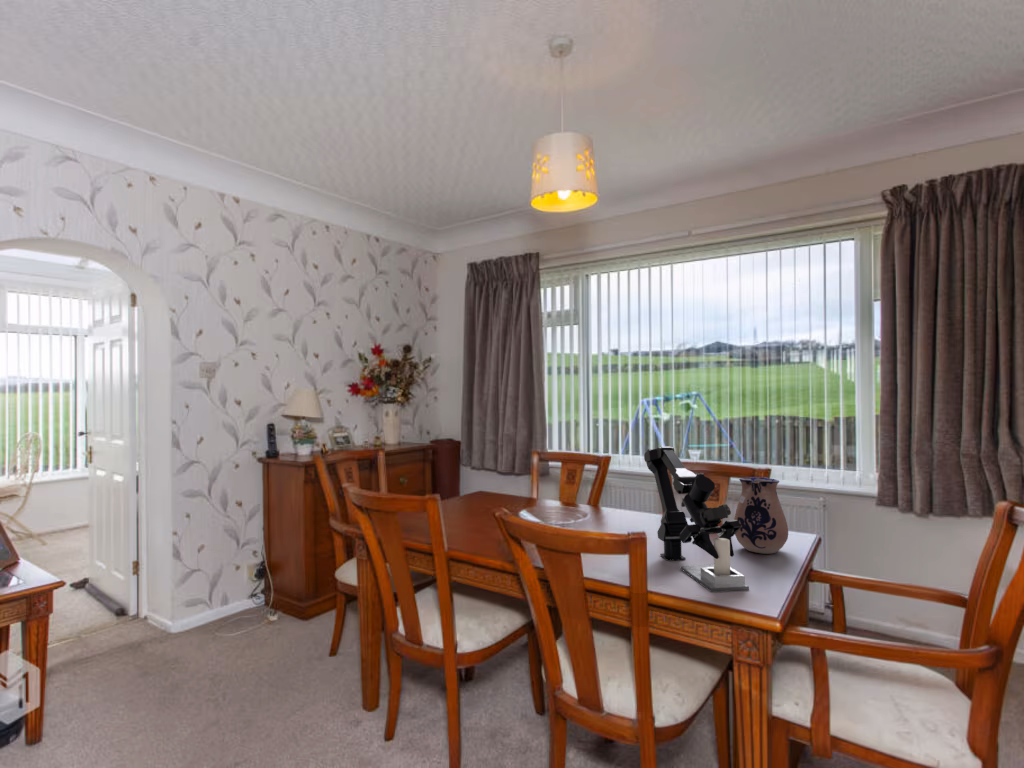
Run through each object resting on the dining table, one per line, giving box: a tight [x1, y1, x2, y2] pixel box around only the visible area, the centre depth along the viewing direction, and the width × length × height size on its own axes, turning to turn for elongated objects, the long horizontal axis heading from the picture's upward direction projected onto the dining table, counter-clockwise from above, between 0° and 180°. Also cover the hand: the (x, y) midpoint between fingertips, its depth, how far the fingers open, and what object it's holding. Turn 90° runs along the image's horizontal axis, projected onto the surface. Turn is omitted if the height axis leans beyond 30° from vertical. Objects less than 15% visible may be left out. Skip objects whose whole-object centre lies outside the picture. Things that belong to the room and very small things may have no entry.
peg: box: [713, 537, 731, 576], centre depth 158 cm, size 4×4×12 cm
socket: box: [680, 563, 750, 593], centre depth 164 cm, size 20×11×4 cm, turn 7°
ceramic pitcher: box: [733, 476, 789, 555], centre depth 195 cm, size 18×21×25 cm
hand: (725, 557), depth 157 cm, fingers open, 5 cm apart
